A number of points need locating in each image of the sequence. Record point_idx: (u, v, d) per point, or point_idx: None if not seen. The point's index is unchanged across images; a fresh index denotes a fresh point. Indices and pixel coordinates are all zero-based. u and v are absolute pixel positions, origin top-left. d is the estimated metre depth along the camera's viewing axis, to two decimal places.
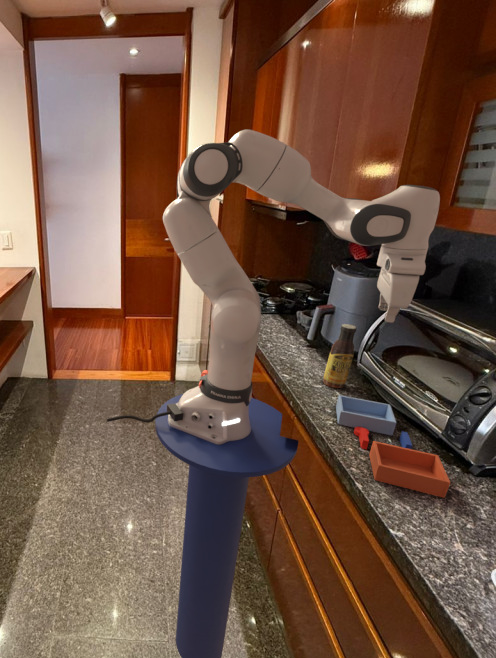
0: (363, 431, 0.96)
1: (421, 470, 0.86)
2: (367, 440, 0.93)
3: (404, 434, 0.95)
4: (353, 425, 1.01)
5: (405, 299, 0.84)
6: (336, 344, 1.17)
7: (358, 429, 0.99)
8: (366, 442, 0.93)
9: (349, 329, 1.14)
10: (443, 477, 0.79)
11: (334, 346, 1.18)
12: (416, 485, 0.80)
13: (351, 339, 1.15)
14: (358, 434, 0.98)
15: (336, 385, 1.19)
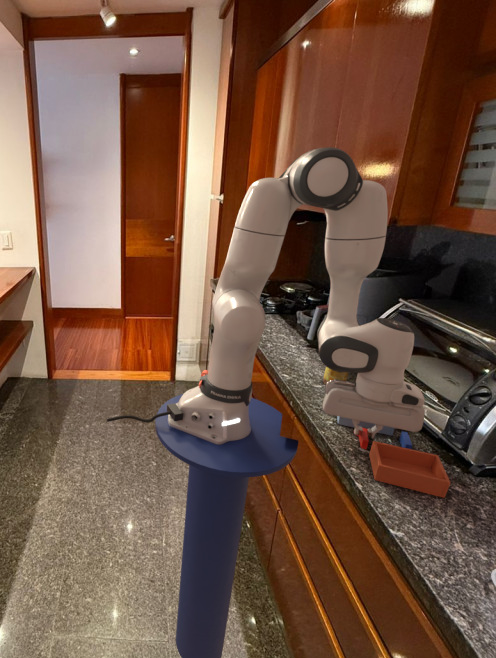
0: (363, 431, 0.96)
1: (421, 470, 0.86)
2: (367, 440, 0.93)
3: (404, 434, 0.95)
4: (353, 425, 1.01)
5: None
6: None
7: None
8: (366, 442, 0.93)
9: None
10: (443, 477, 0.79)
11: None
12: (416, 485, 0.80)
13: None
14: None
15: None
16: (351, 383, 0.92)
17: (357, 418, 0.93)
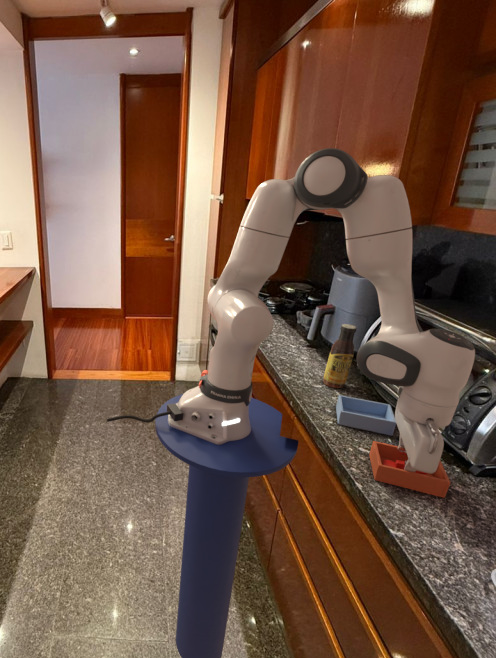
0: None
1: None
2: None
3: None
4: (353, 425, 1.01)
5: None
6: (336, 344, 1.17)
7: (391, 466, 0.85)
8: None
9: (349, 329, 1.14)
10: (443, 477, 0.79)
11: (334, 346, 1.18)
12: (416, 485, 0.80)
13: (351, 339, 1.15)
14: None
15: (336, 385, 1.19)
16: (434, 422, 0.74)
17: None
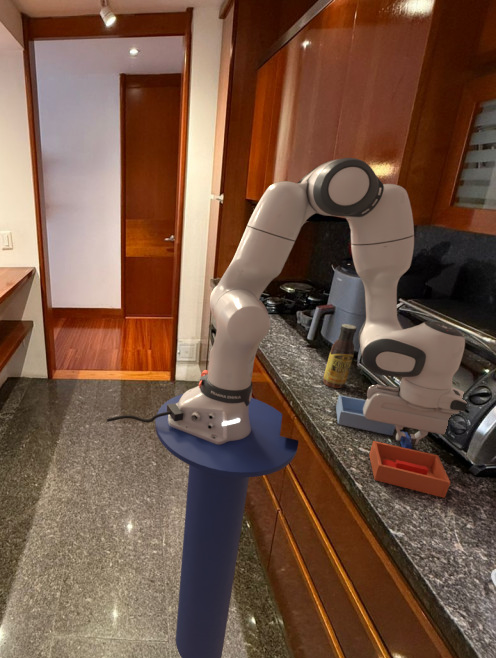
0: (405, 463, 0.84)
1: None
2: (425, 467, 0.83)
3: None
4: (353, 425, 1.01)
5: None
6: (336, 344, 1.17)
7: (391, 466, 0.85)
8: None
9: (349, 329, 1.14)
10: (443, 477, 0.79)
11: (334, 346, 1.18)
12: (416, 485, 0.80)
13: (351, 339, 1.15)
14: None
15: (336, 385, 1.19)
16: (395, 388, 0.90)
17: (401, 424, 0.91)
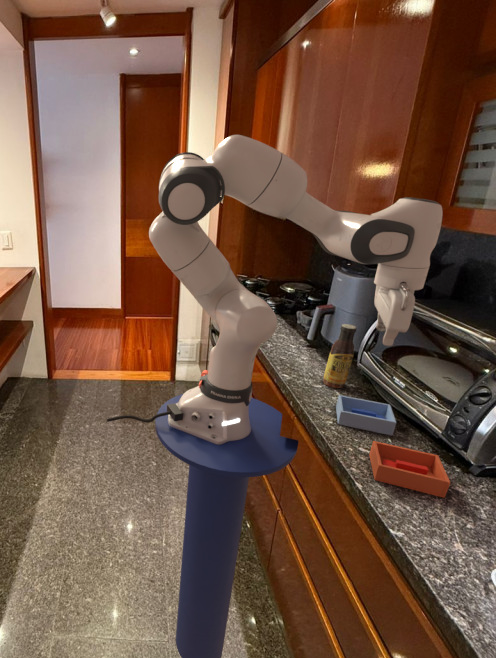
0: (405, 463, 0.84)
1: None
2: (425, 467, 0.83)
3: (357, 410, 1.04)
4: (353, 425, 1.01)
5: None
6: (336, 344, 1.17)
7: (391, 466, 0.85)
8: None
9: (349, 329, 1.14)
10: (443, 477, 0.79)
11: (334, 346, 1.18)
12: (416, 485, 0.80)
13: (351, 339, 1.15)
14: None
15: (336, 385, 1.19)
16: (406, 284, 0.79)
17: None
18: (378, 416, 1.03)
